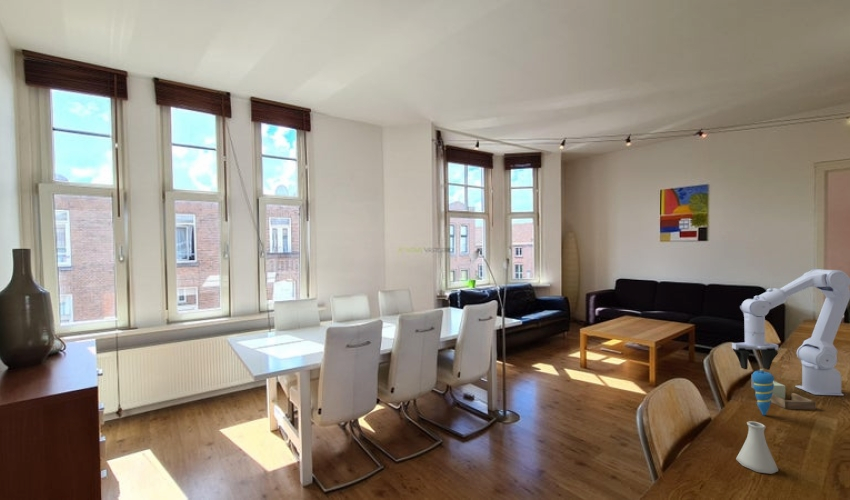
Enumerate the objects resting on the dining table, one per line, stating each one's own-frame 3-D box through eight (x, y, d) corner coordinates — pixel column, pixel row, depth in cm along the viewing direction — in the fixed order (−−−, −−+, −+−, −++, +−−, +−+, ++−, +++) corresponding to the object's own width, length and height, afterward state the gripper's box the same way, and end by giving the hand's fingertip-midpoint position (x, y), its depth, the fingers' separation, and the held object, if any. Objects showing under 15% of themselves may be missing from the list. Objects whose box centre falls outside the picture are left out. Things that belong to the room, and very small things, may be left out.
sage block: (785, 398, 129) (785, 384, 129) (769, 398, 129) (769, 383, 129) (761, 387, 139) (761, 374, 139) (746, 387, 140) (746, 373, 140)
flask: (729, 458, 93) (728, 418, 93) (756, 456, 94) (755, 416, 94) (757, 475, 86) (756, 432, 86) (786, 473, 86) (785, 430, 86)
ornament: (779, 419, 113) (778, 370, 113) (759, 418, 114) (758, 369, 114) (767, 412, 118) (766, 364, 118) (748, 411, 120) (747, 364, 120)
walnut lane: (815, 409, 120) (815, 402, 120) (784, 408, 121) (784, 401, 121) (794, 400, 128) (794, 393, 128) (766, 399, 128) (766, 392, 128)
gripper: (741, 334, 136) (742, 371, 136) (785, 334, 134) (785, 372, 134) (727, 330, 143) (728, 365, 143) (769, 330, 141) (769, 366, 141)
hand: (755, 368), depth 139 cm, fingers open, 7 cm apart
